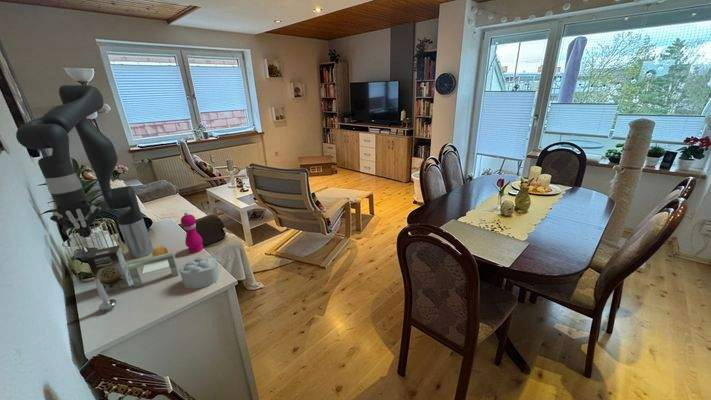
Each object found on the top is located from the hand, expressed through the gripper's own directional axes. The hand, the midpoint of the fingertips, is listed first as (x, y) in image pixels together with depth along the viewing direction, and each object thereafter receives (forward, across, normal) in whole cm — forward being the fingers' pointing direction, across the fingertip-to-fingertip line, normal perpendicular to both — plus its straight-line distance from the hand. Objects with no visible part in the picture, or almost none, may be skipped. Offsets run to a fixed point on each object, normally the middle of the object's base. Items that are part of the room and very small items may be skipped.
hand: (86, 236), depth 97 cm
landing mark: (+27, -14, -19) cm, 36 cm away
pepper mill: (+27, -29, -22) cm, 45 cm away
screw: (+27, 0, +6) cm, 27 cm away
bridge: (+27, -14, -5) cm, 30 cm away
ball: (+24, -14, -22) cm, 36 cm away
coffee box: (+27, 0, -9) cm, 28 cm away
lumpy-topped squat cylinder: (+27, -30, +6) cm, 40 cm away
